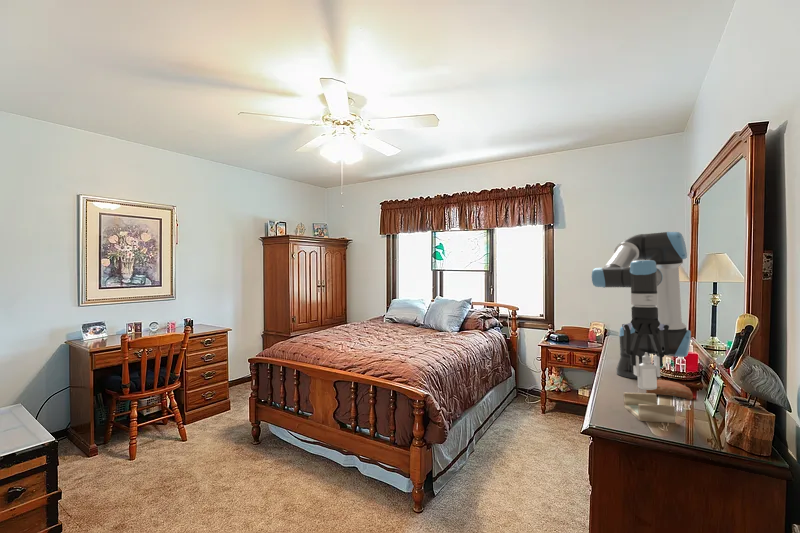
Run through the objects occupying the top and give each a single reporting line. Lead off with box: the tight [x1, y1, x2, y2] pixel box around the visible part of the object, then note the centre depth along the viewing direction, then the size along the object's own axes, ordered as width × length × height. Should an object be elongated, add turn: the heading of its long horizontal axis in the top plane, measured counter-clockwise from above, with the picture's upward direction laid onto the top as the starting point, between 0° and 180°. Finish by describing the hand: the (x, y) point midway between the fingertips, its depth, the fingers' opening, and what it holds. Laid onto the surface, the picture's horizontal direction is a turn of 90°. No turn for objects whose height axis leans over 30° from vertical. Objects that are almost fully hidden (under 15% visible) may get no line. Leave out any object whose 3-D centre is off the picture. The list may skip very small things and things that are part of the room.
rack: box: [623, 392, 676, 424], centre depth 127 cm, size 13×10×5 cm
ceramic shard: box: [645, 379, 694, 401], centre depth 149 cm, size 15×6×15 cm
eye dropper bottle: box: [637, 352, 658, 391], centre depth 127 cm, size 4×6×12 cm
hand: (646, 375), depth 127 cm, fingers closed on eye dropper bottle, 5 cm apart
